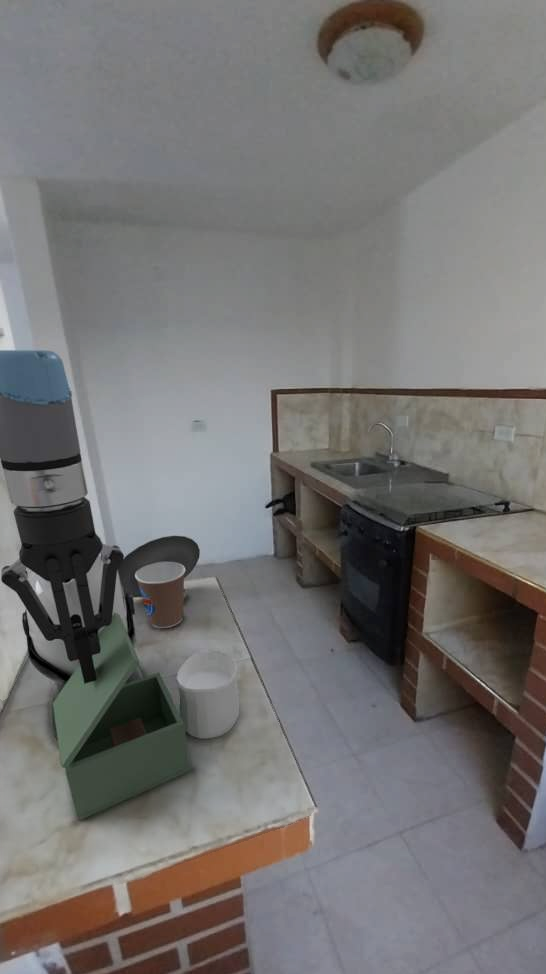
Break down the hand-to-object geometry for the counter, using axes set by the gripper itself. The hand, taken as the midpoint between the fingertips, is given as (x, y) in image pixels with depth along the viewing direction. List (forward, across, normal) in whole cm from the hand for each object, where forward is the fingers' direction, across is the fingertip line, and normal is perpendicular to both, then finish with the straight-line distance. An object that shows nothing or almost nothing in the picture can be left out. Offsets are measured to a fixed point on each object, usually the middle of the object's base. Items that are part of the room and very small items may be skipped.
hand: (89, 675), depth 59 cm
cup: (+17, +16, +2) cm, 23 cm away
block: (+16, +3, 0) cm, 16 cm away
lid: (+2, +1, 0) cm, 2 cm away
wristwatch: (+16, +21, +45) cm, 52 cm away
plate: (+8, +19, +42) cm, 47 cm away
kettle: (+17, +1, +18) cm, 24 cm away
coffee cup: (+17, +18, +35) cm, 43 cm away
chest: (+17, +2, 0) cm, 17 cm away
